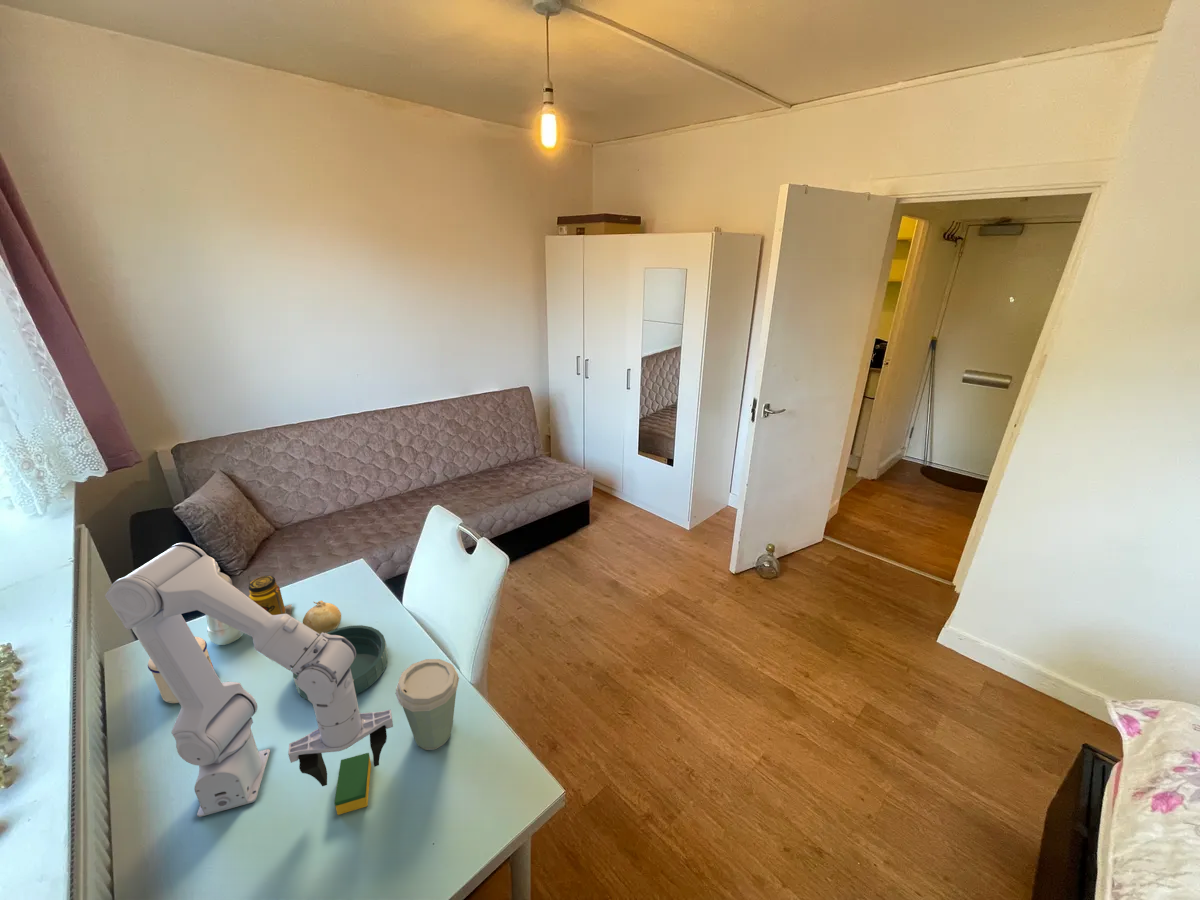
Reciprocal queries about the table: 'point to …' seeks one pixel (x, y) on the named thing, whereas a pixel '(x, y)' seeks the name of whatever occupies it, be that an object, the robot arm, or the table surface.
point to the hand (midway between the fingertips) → (351, 770)
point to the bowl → (362, 655)
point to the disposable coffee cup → (429, 700)
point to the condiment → (268, 595)
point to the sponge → (353, 783)
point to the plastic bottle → (221, 625)
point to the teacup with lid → (160, 681)
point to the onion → (322, 617)
